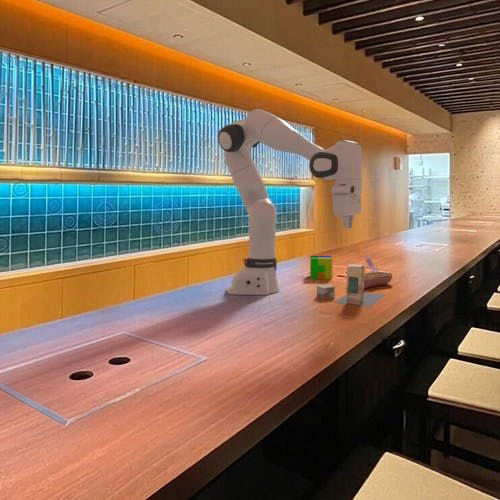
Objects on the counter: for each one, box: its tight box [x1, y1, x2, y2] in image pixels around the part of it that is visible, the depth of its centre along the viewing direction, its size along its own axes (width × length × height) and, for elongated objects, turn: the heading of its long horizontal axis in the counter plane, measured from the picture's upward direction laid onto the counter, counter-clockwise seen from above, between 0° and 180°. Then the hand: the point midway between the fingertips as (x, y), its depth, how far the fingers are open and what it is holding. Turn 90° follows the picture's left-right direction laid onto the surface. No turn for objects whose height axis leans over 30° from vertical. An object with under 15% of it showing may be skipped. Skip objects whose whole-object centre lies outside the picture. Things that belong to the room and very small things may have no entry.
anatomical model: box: [364, 271, 393, 289], centre depth 207 cm, size 23×10×5 cm, turn 126°
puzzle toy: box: [309, 255, 333, 280], centre depth 229 cm, size 10×10×10 cm
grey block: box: [316, 284, 336, 300], centre depth 184 cm, size 5×5×5 cm
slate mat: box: [333, 292, 386, 308], centre depth 182 cm, size 22×14×1 cm, turn 150°
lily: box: [362, 253, 380, 273], centre depth 236 cm, size 12×12×10 cm
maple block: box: [346, 263, 365, 304], centre depth 175 cm, size 5×5×14 cm
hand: (347, 228), depth 163 cm, fingers closed
